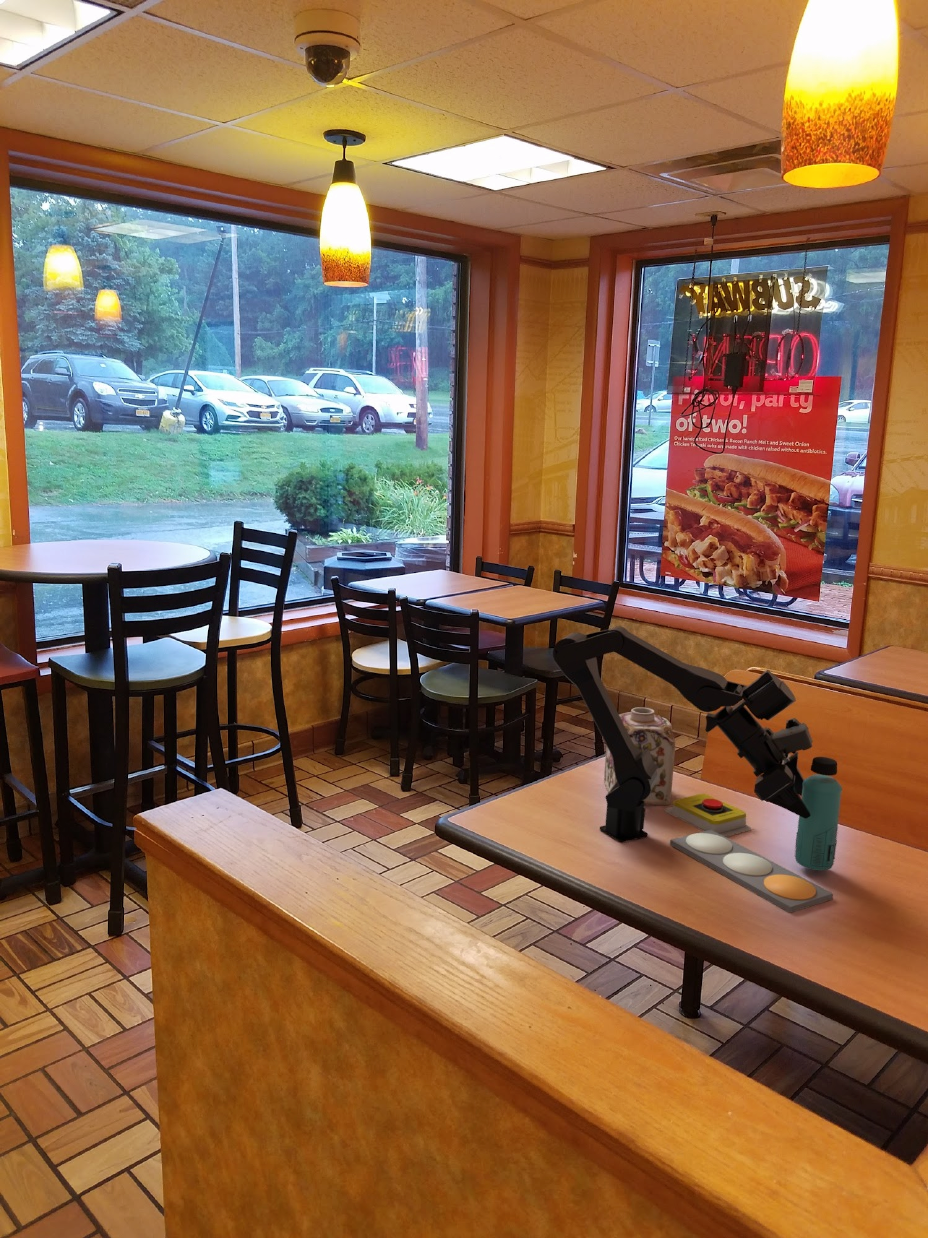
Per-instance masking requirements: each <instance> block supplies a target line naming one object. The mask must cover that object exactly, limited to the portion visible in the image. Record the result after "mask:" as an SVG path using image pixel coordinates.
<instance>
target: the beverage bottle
mask: <svg viewBox="0 0 928 1238" xmlns="http://www.w3.org/2000/svg"><path fill="white" fill-rule="evenodd" d="M810 771H811V772H813V773H814V774H812V775H810V776H808V777H807V778H805V779H804V781H803V789H802V796H801V797H800V798H801V799H802V801H803V802H804V804H805V806H806V807H807V809H808V811H809V812H810V814H811V815H810V817H808V818H807V819H805V818H803V817H801V816H799V815H798V821H797V831H796V839H795V845H794V847H795V848H794V857H795V861H796V863H797V864H799V865H800V866H802V867H804V868H806V869H809V870H813V871H827V870H830V869H832V868H833V866H834V864H835V859H836V852H837V851H836V850H837V843H838V840H837V839H838V829H839V819H840V809H841V799H842V791H843V787H842V785H841V784H840V783H839V782H838V780H837V779H835V777H832V776H836V775H837V774H838V761H837V760H835V759H834V758H831V757H828V756H815V757H813V758H812V763H811V766H810Z"/></svg>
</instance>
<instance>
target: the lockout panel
mask: <svg viewBox="0 0 928 1238" xmlns="http://www.w3.org/2000/svg"><path fill="white" fill-rule="evenodd" d="M669 845H670V846H671V847H673V848H675V849H677V850H678V851H680V852H681V853H684V854H685V855H687V856H689V857H690V858H692V859H693V860H696V861H697V862H699V863H701V864H703V865H705V866H706V867H708V868H710V869H711V870H713V871H716V872H717V873H719V874H720V875H722V876H724V877H726V878H727V879H730V880H731V881H733V882H735V883H736V884H738V885H740V886H742V887H743V888H745V889H747V890H748V891H750V892H752V893H754V894H756V895H757V896H759V897H761V898H763V899H765V900H766V901H768V902H770V903H772V904H773V905H775V906H776V907H779V908H781V909H782V910H784V911H786V912H787V913H789V914H791V913H793V912H794V913H795V912H796V911H801V910H802V909H805V908H809V907H812V906H815V905H819V904H822V903H825V902H827V901H830V900H834V899H833V897H834V893H833V892H831V891H829V890H828V889H826V888H824V887H822V886H820V885H819V884H817V883H814V882H813V881H811V880H809V879H806V878H805V877H802V876H801V875H799V874H797V873H795V872H793V871H792V870H790V869H787V868H786V867H783V866H782V865H780V864H778V863H776V862H774V861H772V860H770V859H768V858H766V857H765V856H762V855H760V854H759V853H757V852H756V851H753V850H752V849H749V848H747V847H745V846H744V845H742V844H739V843H737V842H736V841H734V840H732V839H730V838H728V837H724V836H722V835H720V834H718V833H717V832H715V831H713V830H708V831H700V832H697V833H692V834H687V835H684V836H679V837H676V838H672V839H670V841H669Z"/></svg>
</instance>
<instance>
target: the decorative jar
mask: <svg viewBox="0 0 928 1238" xmlns="http://www.w3.org/2000/svg"><path fill="white" fill-rule="evenodd" d="M618 714H619V713H618ZM619 716H620V718H621V720H622V722H623V724H624V726H625V728H626V730H627V732H628V734H629V736H630V738H631V740H632V742H633V743H634V745H635V746H636V747H637V748H638V749H639V750H640V751H642V752H643V751H644V750H646V749H649V751H650V754H651V757H652V759H653V761H654V763H655V764H656V765H657V766H658V769H657V770H656V771H657V774H658V778H657V782H656V784H655V786H654V788H653V789H652V791H651V793H650V795H649V796H648V797H647V798H646V799H645V800H643V801H644V805H648V806H649V805H650V806H651V805H653V806H654V805H655V806H669V805H670V804H671V798H672V789H673V780H674V779H673V778H674V768H675V767H674V766H675V765H674V764H675V755H676V754H675V752H676V738H675V733H674V732H673V730H674V729H673V726H672V723H671V722H670V721H669V720H668V719H667V718H665V717H662V716H661V715H658V714H655V710H654V709H652V708H650V707H639V706H638V707H634V708H632V709H631V710H630V712H629V711H628V712H624V713H620V714H619ZM605 750H606V751H605V758H604V760H605V761H604V762H605V763H604V774H603V776H604V777H603V783H604V786H605V787H606V790H607V793H608V792H609V791H610V790H611V788H612V787H613V785H614V784H615V783H616V781H617V780H616V777H615V772H614V765H613V758H612V755H611V753H610V751H609V749H608V747H607V746H606V749H605Z"/></svg>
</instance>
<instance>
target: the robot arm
mask: <svg viewBox="0 0 928 1238" xmlns="http://www.w3.org/2000/svg"><path fill="white" fill-rule="evenodd" d="M611 653H616V654H618V655H619V656H621V657H623V658H624V659H626V660H628V661H630V662H631V663H633V664H635V665H637V666H638V667H641V668H642V669H644V670H646V671H647V672H649V673H651V674H652V675H654V676H656V677H658V678H660V680H663V681H665V682H666V683H669V684H670V685H671V686H673V687H674V689H676V690H677V691H678V692H679V694H680V695H681V696H682V697H683V698H684V699H685V700H686V701H688V702H689V703H690V704H692V705H693V706H694V707H695V708H697V709H698V710H699V711H701V712H704V713H707V714H706V715H705V721H706V725H705V732H706V733H710V732H711V731H712V730H714V729H715V728H717V727H718V729H719V730H720V731H721V732H722V733H723V735H725V737H726V738H727V740H729V741H730V743H732V745H733V746H734V747H735V748H736V749H737V752H736V755H738V757H739V758H740V759H743V758H744V759H745V760H746V761H747V762H748V763H749V764H750V766H751V767H752V769H753V771H752V773H753V774H754V775H755V776H756V778H755V783H754V790H753V792H754V794H755V795H756V796H757V798H758V799H760V801H761V802H763V801H765V802H766V803H771V804H773V805H775V806H777V807H780V808H782V809H785V810H787V811H789V812H790V813H793V814H795V815H796V816H798V817H799V816H801V817H803V818H805V819H807V818H808V817H810V815H811V814H810V812H809V811H808V809H807V807H806V806H805V804H804V802H803V801H802V799H801V798H802V789H803V781H804V780H805V779H804V776H803V774H802V772H801V771H800V769H799V766H798V759H799V752H798V751H807V750H809V749H810V750H811V748H812V747H813V738H812V735H811V733H810V730H809V727H808V725H807V724H806V723H805V722H802V723H801V722H800V721H799V720H798V719H797V718H796V717H793V718H789V719H786V724H785V728H781V729H780V730H778V731H775V732H773V731H772V729H771V728H770V727H767V726H765V727H763V726H762V724H761V723H760V722H759V721H758V720H761V721H763V720H766V721H770V720H771V719H772V718H774V717H776V716H777V715H779V714H780V713H782V712H783V711H784V710H785V709H787V708H789V706H791V705H792V704H794V703H795V702H796V701H797V700H796V697H795V695H794V693H793V691H792V690H791V689H790V687H789V686H788V685H787V684H786V683H785V681H784V680H781V679H780V678H779V677H778V676H776V675H775V674H773V673H772V672H771V671H770V670H769V669H767V670H765V671H764V672H762V673H761V675H759V677H758V678H756V679H755V680H754V681H752V682H751V683H750V684H748V685H746V684H741V683H738V682H734V681H730V680H727V678H726V677H725V676H723V674H720V673H718V672H715V671H712V670H711V669H710V670H709V669H707V668H704V667H702V666H696V665H692V664H689V663H686V662H683V661H681V660H679V659H678V658H676V657H675V656H672V655H671V654H669V653H667V652H665V651H664V650H662V649H660V648H658V647H656V646H655V645H653V644H652V643H649V642H647V641H646V640H645V639H643V638H641V637H638V636H636V635H635V634H633V633H631V632H630V631H629V630H628V629H626V628H625V627H623V626H618V625H617V626H614V627H612V628H609V629H603V630H600V631H593V632H591V633H588V634H583V633H582V632H577V631H576V632H571V633H569V634H567V635H566V636H564V637H563V638H561V639H560V640H558V641H557V642H556V643H555V645H554V646H553V649H552V658H553V662H554V663H555V665H556V666H557V667H558V668H559V670H560V671H561V673H562V674H563V675H564V677H566V678H567V679H568V680H569V681H570V682H571V683H572V684H573V685H575V687H576V688H577V689H578V691H579V693H580V696H581V698H582V699H583V702H584V704H585V705H586V707H587V710H588V711H589V713H590V716H591V717H592V719H593V721H594V723H595V725H596V726H597V729H598V732H599V733H600V735H601V737H602V739H603V741H604V743H605V745H606V747H608V749H609V751H610V753H611V755H612V758H613V765H614V772H615V777H616V780H617V781H616V783H615V784H614V785H613V787H612V788H611V790H610V791H609V792H608V791H607V794H606V795H605V799H606V813H605V825H601V826H599V831H601V832H602V833H604V834H605V835H608V836H609V837H611V838H612V839H615V840H616V841H618V842H619V843H626V842H629V841H633V840H638V839H642V838H645V837H648V836H649V833H648V832H647V831H645V830H644V828H645V815H646V808H645V804H644V801H643V800H645V799H646V798H647V797H648V796H649V795H650V793H651V791H652V789H653V788H654V786H655V784H656V782H657V778H658V774H657V771H656V770H657V769H658V766H657V765H656V764H655V763H654V761H653V759H652V757H651V754H650V751H649V749H646V750H644V751H643V752H642V751H640V750H639V749H638V748H637V747H636V746H635V745H634V743H633V742H632V740H631V738H630V736H629V734H628V732H627V730H626V728H625V726H624V724H623V722H622V720H621V718H620V716H619V712H618V711H617V709H616V706H615V704H614V702H613V700H612V699H611V697H610V695H609V692H608V691H607V688H606V687H605V685H604V682H603V681H602V679H601V677H600V676H601V675H600V673H599V667H598V660H597V659H598V657H600V656H605V655H607V654H611ZM721 707H723V708H721ZM720 708H721V709H720ZM719 709H720V710H719ZM717 710H718V711H717ZM715 711H717V712H716V713H712V712H715ZM791 754H792V755H791ZM800 796H801V797H800Z"/></svg>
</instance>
